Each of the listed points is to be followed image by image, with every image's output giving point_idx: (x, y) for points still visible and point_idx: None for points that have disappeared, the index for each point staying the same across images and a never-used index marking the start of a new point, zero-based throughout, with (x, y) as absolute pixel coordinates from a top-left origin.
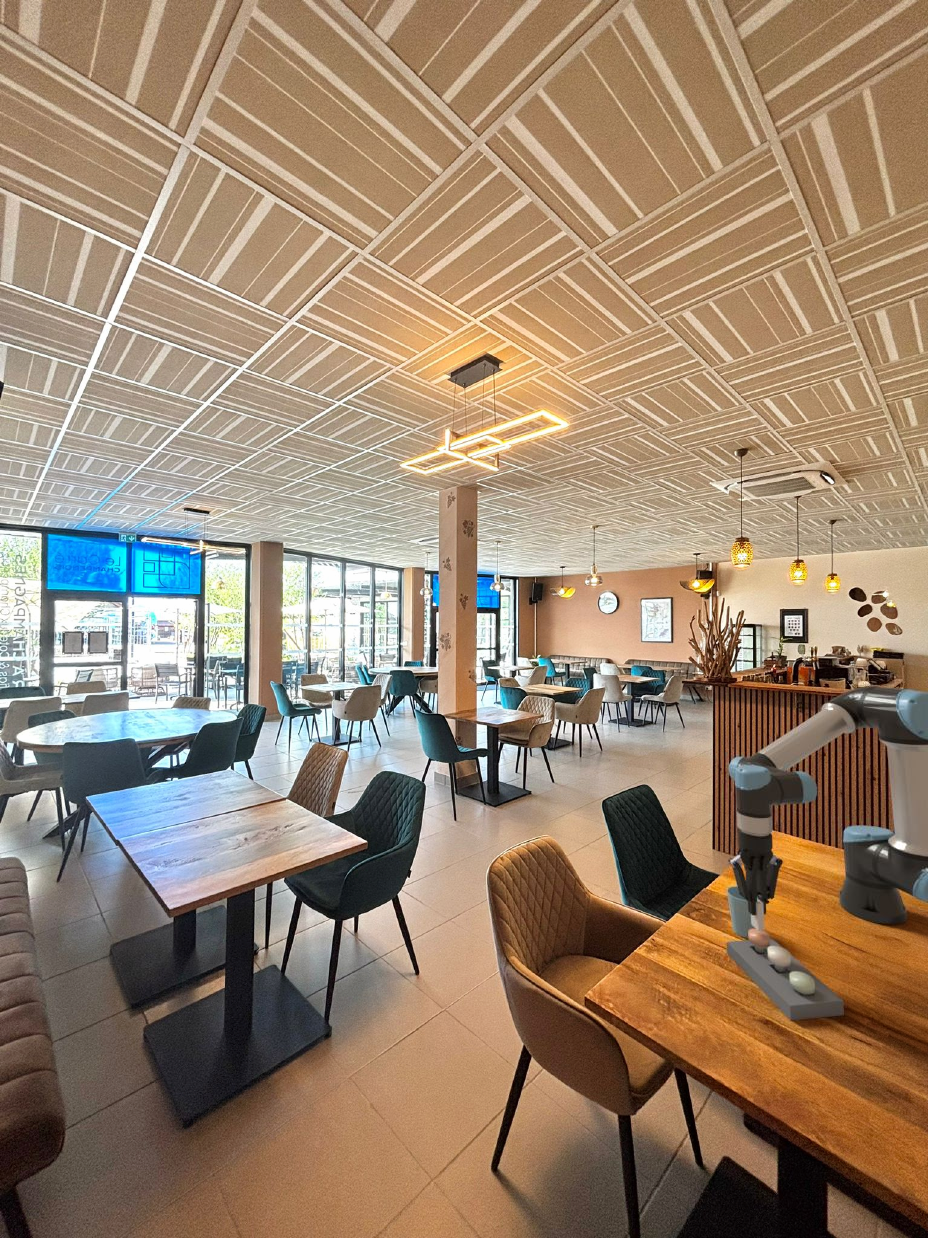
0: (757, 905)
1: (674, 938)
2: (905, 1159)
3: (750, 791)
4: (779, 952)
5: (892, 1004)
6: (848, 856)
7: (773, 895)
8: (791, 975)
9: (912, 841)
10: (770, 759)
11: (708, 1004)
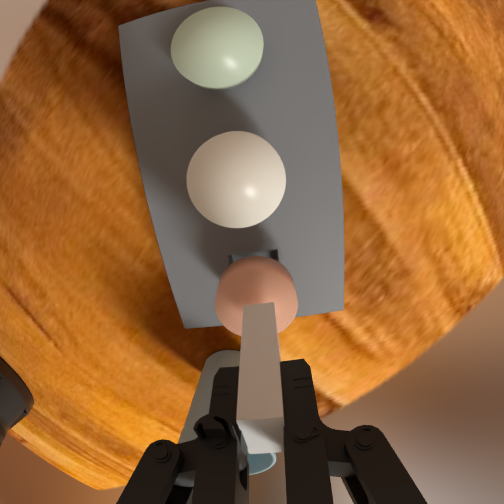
0: (282, 407)
1: (418, 337)
2: None
3: None
4: (235, 176)
5: (15, 111)
6: None
7: (147, 460)
8: (251, 59)
9: None
10: None
11: (474, 99)
